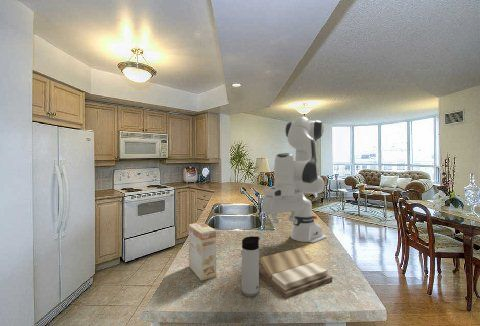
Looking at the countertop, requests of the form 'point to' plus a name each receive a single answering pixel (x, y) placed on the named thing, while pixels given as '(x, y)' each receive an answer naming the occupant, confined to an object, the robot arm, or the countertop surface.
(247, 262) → the travel mug
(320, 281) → the walnut board
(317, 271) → the pale ash plank
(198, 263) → the coffeecake box
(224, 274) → the countertop surface
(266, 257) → the honey oak plank
